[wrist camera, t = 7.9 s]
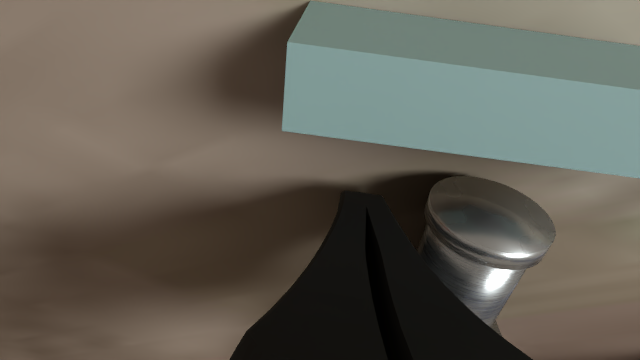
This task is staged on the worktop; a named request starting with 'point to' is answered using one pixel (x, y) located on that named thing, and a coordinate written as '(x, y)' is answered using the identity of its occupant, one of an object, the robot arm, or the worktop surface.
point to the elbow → (482, 240)
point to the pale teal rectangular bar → (464, 89)
